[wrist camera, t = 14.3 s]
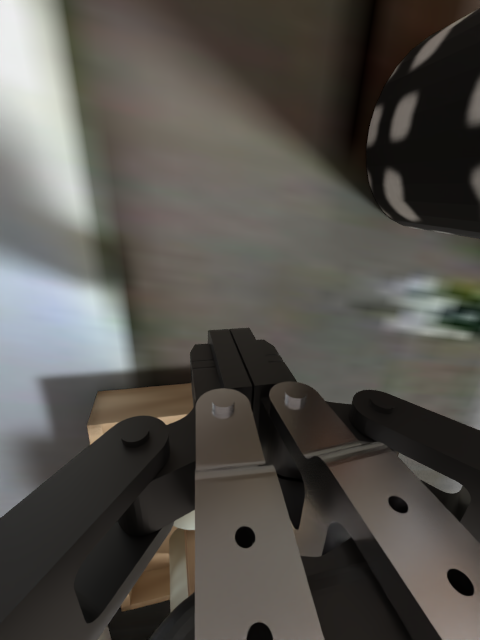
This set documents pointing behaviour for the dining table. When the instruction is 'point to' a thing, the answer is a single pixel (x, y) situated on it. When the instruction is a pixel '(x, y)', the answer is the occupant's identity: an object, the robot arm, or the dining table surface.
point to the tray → (168, 413)
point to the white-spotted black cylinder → (431, 134)
